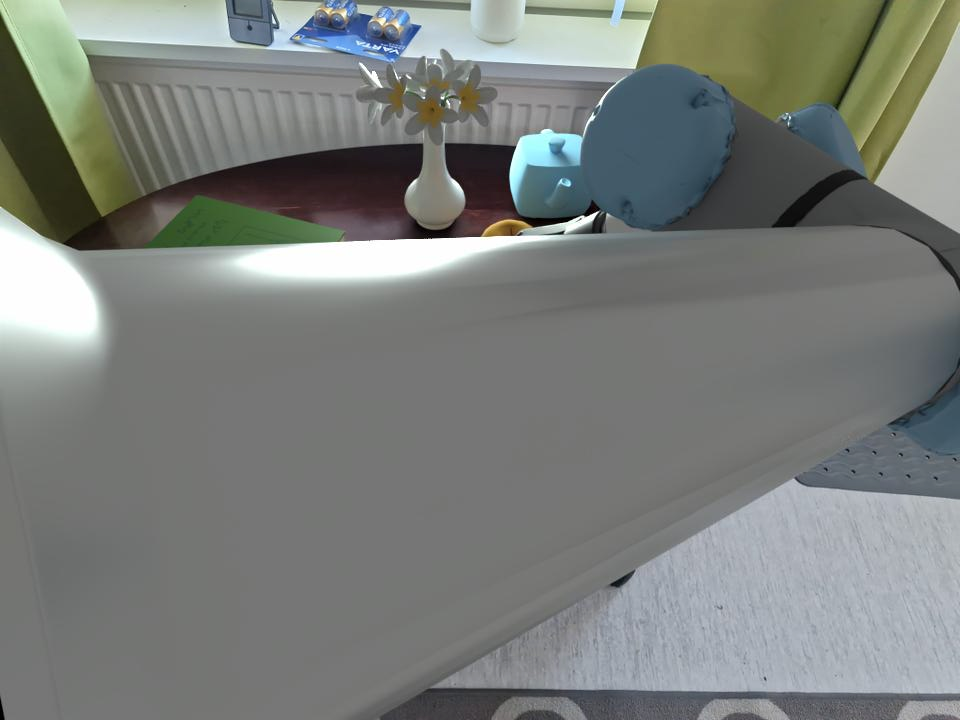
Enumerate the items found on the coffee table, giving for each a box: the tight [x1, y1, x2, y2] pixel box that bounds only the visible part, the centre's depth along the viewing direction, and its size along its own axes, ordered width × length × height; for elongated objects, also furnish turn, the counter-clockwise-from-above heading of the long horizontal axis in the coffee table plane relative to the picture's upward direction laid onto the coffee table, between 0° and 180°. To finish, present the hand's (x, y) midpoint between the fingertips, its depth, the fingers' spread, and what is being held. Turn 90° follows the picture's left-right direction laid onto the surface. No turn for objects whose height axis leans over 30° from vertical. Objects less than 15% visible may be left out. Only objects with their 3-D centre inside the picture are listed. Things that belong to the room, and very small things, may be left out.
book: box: [142, 194, 347, 249], centre depth 90 cm, size 25×19×4 cm
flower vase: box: [355, 48, 499, 231], centre depth 91 cm, size 13×18×25 cm
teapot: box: [509, 128, 592, 219], centre depth 100 cm, size 12×18×12 cm
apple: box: [480, 219, 533, 238], centre depth 90 cm, size 9×9×9 cm
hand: (440, 335), depth 62 cm, fingers open, 13 cm apart
